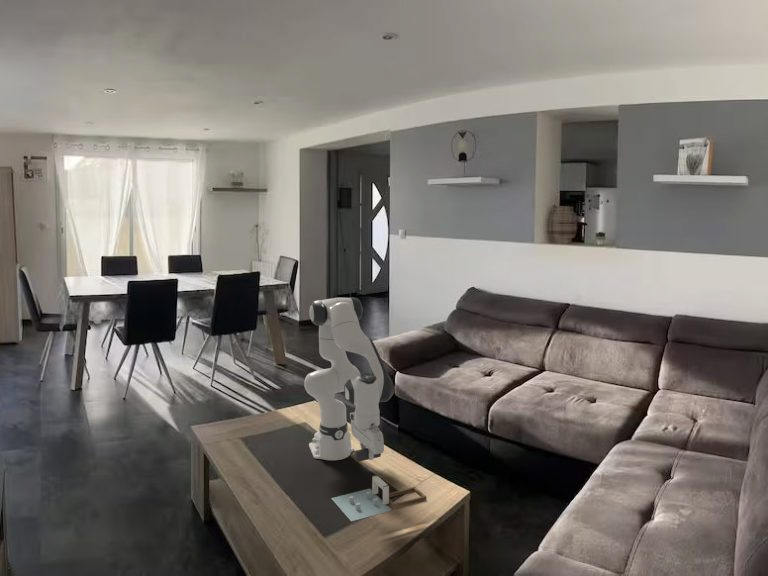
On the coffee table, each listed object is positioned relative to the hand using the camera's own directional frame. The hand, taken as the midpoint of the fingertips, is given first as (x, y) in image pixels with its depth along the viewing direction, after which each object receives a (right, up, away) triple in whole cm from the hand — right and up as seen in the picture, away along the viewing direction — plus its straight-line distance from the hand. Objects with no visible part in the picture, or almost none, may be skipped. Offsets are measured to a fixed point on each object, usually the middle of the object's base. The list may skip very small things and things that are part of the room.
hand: (367, 456), depth 214 cm
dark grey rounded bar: (0, -1, 0) cm, 1 cm away
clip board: (-2, -19, +2) cm, 19 cm away
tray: (+14, -18, +6) cm, 24 cm away
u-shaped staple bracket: (+5, -17, +6) cm, 19 cm away
